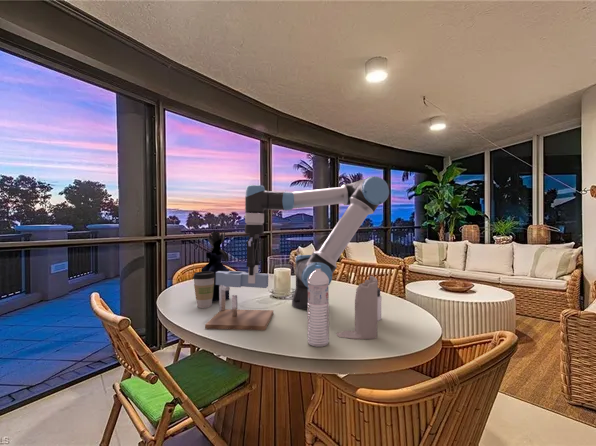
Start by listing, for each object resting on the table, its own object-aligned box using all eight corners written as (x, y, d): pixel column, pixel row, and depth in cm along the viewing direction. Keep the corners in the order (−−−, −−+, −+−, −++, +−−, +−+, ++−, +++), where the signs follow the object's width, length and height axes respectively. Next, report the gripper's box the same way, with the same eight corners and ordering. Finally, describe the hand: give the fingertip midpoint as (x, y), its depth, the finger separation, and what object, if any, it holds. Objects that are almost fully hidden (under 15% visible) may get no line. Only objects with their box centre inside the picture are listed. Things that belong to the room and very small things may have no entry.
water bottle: (322, 349, 98) (322, 267, 97) (303, 344, 102) (303, 266, 101) (332, 341, 104) (332, 264, 103) (314, 337, 107) (314, 263, 107)
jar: (356, 320, 125) (357, 290, 124) (359, 314, 132) (359, 285, 132) (380, 323, 122) (380, 291, 122) (381, 316, 130) (382, 287, 129)
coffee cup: (209, 309, 140) (209, 275, 139) (188, 308, 142) (188, 274, 141) (219, 303, 149) (219, 271, 149) (199, 302, 151) (199, 270, 151)
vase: (234, 300, 155) (233, 227, 155) (210, 303, 149) (210, 228, 148) (223, 294, 167) (223, 227, 166) (201, 297, 161) (200, 227, 160)
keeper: (229, 315, 131) (229, 287, 131) (225, 316, 130) (225, 287, 129) (223, 312, 135) (223, 284, 135) (219, 313, 134) (219, 285, 134)
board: (273, 313, 134) (273, 310, 134) (265, 330, 115) (265, 325, 115) (221, 312, 135) (221, 309, 135) (205, 328, 116) (205, 324, 116)
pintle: (237, 318, 127) (237, 295, 127) (236, 320, 125) (236, 296, 125) (232, 318, 127) (232, 295, 127) (231, 320, 125) (231, 296, 125)
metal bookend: (335, 331, 114) (335, 274, 113) (374, 331, 113) (375, 275, 113) (337, 338, 106) (337, 278, 106) (379, 339, 106) (379, 279, 105)
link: (213, 285, 128) (213, 273, 128) (220, 282, 135) (220, 270, 135) (264, 289, 125) (265, 276, 125) (269, 285, 132) (269, 273, 132)
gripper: (251, 223, 138) (249, 277, 138) (238, 224, 121) (237, 285, 122) (268, 223, 137) (267, 278, 137) (258, 224, 120) (256, 287, 121)
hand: (253, 282), depth 129 cm, fingers closed on link, 4 cm apart
